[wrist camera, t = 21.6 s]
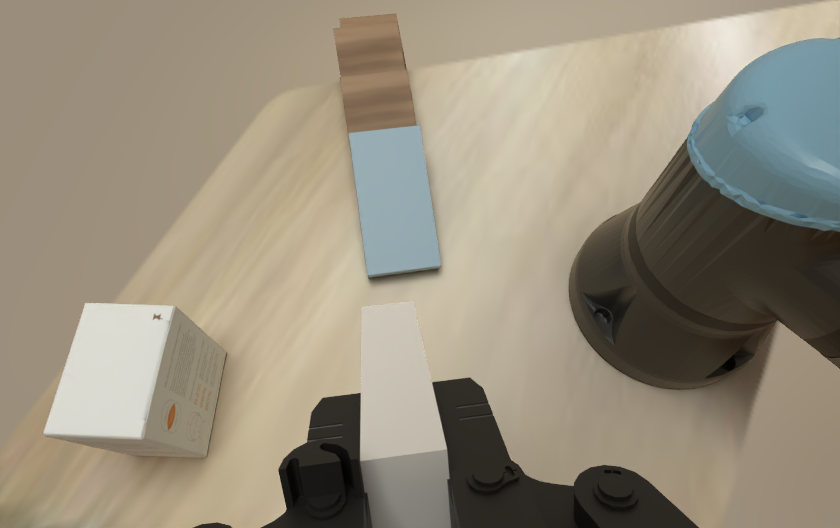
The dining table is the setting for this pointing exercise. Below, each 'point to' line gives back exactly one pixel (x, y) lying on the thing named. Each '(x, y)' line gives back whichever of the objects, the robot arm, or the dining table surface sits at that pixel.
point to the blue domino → (394, 201)
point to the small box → (138, 382)
